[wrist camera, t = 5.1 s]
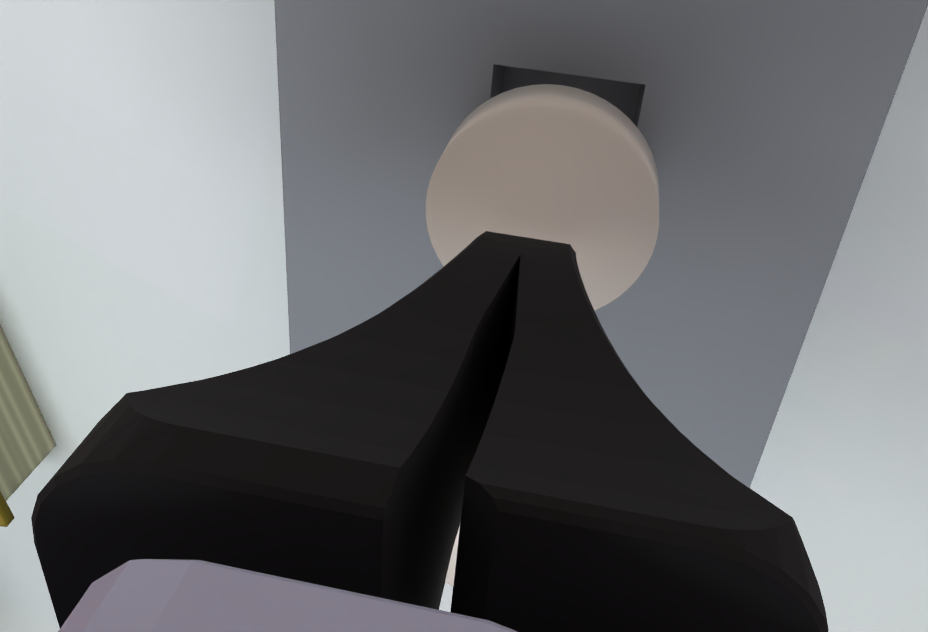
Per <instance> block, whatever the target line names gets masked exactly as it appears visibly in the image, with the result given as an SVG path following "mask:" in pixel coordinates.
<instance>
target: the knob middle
mask: <svg viewBox="0 0 928 632" xmlns="http://www.w3.org/2000/svg"><path fill="white" fill-rule="evenodd" d="M426 222H427V229H428V233H429V236H430V240H431V243H432V246H433V248H434V250H435V252H436V255H437V257H438V258H439V260H440V262H441V263H442V265H443V266H445V265H446V264H447V263H449V262H450V261H451V260H452V259H453V258H454V257H456V256H457V255H458V254H459V253H460V252H461V251H462V250H464V249H465V248H466V247H467V246H468V245H469V244H470V243H471V242H472V241H473V240H475V239H476V238H477V237H478V236H479V235H481V234H482V233H484V232H485V231H489V232H495V233H502V234H508V235H514V236H521V237H527V238H534V239H540V240H546V241H553V242H559V243H565V244H570V245H571V247H572V248H573V249H574V251H575V252H576V259H577V264H578V268H579V272H580V275H581V278H582V281H583V284H584V287H585V290H586V292H587V295H588V297H589V300H590V302H591V304H592V306H593V308H594V311H595V310H597V309H599V308H601V307H603V306H605V305H607V304H609V303H610V302H612V301H613V300H615V299H616V298H618V297H619V296H620V295H622V294H623V293H624V292H625V291H626V290H627V289H628V288H630V287H631V285H632V284H633V283H634V282H635V281H636V280H637V279H638V278H639V276H640V275H641V273H642V272H643V270H644V269H645V267H646V266H647V264H648V262H649V260H650V258H651V255H652V253H653V250H654V247H655V244H656V241H657V236H658V229H659V181H658V174H657V168H656V164H655V161H654V157H653V154H652V152H651V150H650V148H649V146H648V143H647V141H646V140H645V138H644V137H643V135H642V134H641V132H640V130H639V129H638V128H637V127H636V126H635V124H634V123H633V122H632V121H631V120H630V119H629V118H628V117H627V116H626V115H625V114H624V113H623V112H622V111H620V110H619V109H618V108H617V107H615V106H614V105H612V104H611V103H609V102H608V101H606V100H605V99H603V98H601V97H599V96H597V95H595V94H593V93H590V92H587V91H584V90H581V89H578V88H574V87H569V86H564V85H553V84H539V85H529V86H524V87H518V88H515V89H512V90H509V91H506V92H503V93H501V94H499V95H497V96H495V97H492V98H490V99H489V100H487V101H486V102H484V103H483V104H481V105H480V106H478V107H477V108H476V109H475V110H474V111H472V112H471V113H470V114H469V115H468V116H467V117H466V118H465V119H464V121H463V122H462V123H461V124H460V125H459V126H458V128H457V129H456V131H455V133H454V134H453V136H452V137H451V139H450V141H449V143H448V144H447V146H446V148H445V150H444V152H443V154H442V155H441V157H440V159H439V161H438V163H437V165H436V167H435V169H434V171H433V174H432V176H431V179H430V182H429V186H428V190H427V197H426Z"/></svg>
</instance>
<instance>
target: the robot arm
mask: <svg viewBox="0 0 928 632" xmlns="http://www.w3.org/2000/svg"><path fill="white" fill-rule="evenodd" d="M31 519H32V527H33V535H34V543H35V546H36V550H37V553H38V556H39V560H40V563H41V566H42V570H43V573H44V576H45V580H46V583H47V586H48V590H49V593H50V596H51V600H52V603H53V607H54V610H55V613H56V617H57V620H58V623H59V627H60V630H59V631H58V632H828V624H827V618H826V612H825V607H824V603H823V600H822V596H821V592H820V588H819V585H818V582H817V579H816V577H815V574H814V571H813V568H812V566H811V563H810V560H809V557H808V555H807V552H806V550H805V547H804V544H803V542H802V539H801V536H800V534H799V531H798V529H797V526H796V524H795V521H794V520H793V518H792V517H791V516H789V515H788V514H786V513H785V512H784V511H782V510H781V509H779V508H778V507H776V506H775V505H773V504H772V503H770V502H769V501H767V500H766V499H765V498H763V497H762V496H760V495H759V494H757V493H756V492H754V491H753V490H751V489H750V488H748V487H747V486H746V485H744V484H743V483H741V482H740V481H738V480H737V479H735V478H734V477H733V476H731V475H730V474H729V473H727V472H726V471H725V470H724V469H723V468H721V467H720V466H719V465H718V464H717V463H715V462H714V461H713V460H712V459H710V458H709V457H708V456H707V455H706V454H704V453H703V452H702V451H701V450H700V449H698V448H697V447H696V446H695V445H694V444H693V443H692V442H691V441H690V440H689V439H688V438H686V437H685V436H684V435H683V434H682V433H681V432H680V431H679V430H678V429H677V428H676V427H675V426H674V425H673V424H672V423H671V422H670V421H669V420H668V419H667V418H666V417H665V415H664V414H663V413H662V412H661V411H660V410H659V409H658V408H657V407H656V406H655V405H654V404H653V403H652V402H651V400H650V399H649V398H648V397H647V396H646V394H645V393H644V392H643V390H642V389H641V388H640V386H639V385H638V384H637V382H636V381H635V380H634V378H633V377H632V376H631V374H630V373H629V371H628V370H627V368H626V367H625V365H624V364H623V362H622V361H621V359H620V357H619V356H618V354H617V352H616V351H615V349H614V347H613V346H612V344H611V342H610V340H609V339H608V337H607V335H606V333H605V331H604V329H603V327H602V326H601V324H600V321H599V319H598V317H597V315H596V313H595V311H594V308H593V306H592V304H591V302H590V300H589V297H588V295H587V292H586V290H585V287H584V284H583V281H582V278H581V275H580V272H579V268H578V264H577V259H576V252H575V251H574V249H573V248H572V247H571V245H570V244H565V243H559V242H553V241H546V240H540V239H534V238H527V237H521V236H514V235H508V234H502V233H495V232H489V231H485V232H484V233H482V234H481V235H479V236H478V237H477V238H476V239H475V240H473V241H472V242H471V243H470V244H469V245H468V246H467V247H466V248H465V249H464V250H462V251H461V252H460V253H459V254H458V255H457V256H456V257H454V258H453V259H452V260H451V261H450V262H449V263H447V264H446V265H445V266H444V267H443V268H441V269H440V270H439V271H438V272H436V273H435V274H434V275H433V276H431V277H430V278H429V279H427V280H426V281H425V282H424V283H422V284H421V285H420V286H418V287H417V288H416V289H414V290H413V291H412V292H410V293H409V294H407V295H406V296H404V297H403V298H401V299H400V300H398V301H397V302H395V303H394V304H392V305H391V306H390V307H388V308H387V309H385V310H384V311H382V312H380V313H379V314H377V315H375V316H374V317H372V318H370V319H368V320H366V321H365V322H363V323H361V324H359V325H357V326H355V327H353V328H351V329H349V330H347V331H345V332H343V333H341V334H339V335H337V336H334V337H332V338H330V339H328V340H325V341H323V342H320V343H317V344H315V345H312V346H310V347H307V348H305V349H302V350H300V351H297V352H295V353H292V354H290V355H287V356H285V357H282V358H279V359H276V360H273V361H270V362H267V363H263V364H260V365H257V366H254V367H250V368H247V369H243V370H239V371H236V372H232V373H228V374H224V375H221V376H217V377H212V378H208V379H204V380H199V381H194V382H188V383H183V384H177V385H172V386H167V387H161V388H156V389H150V390H145V391H138V392H132V393H127V394H126V395H125V396H124V397H123V398H122V399H121V400H120V401H119V402H118V403H117V404H116V405H115V406H114V407H113V408H112V409H111V410H110V411H109V412H108V413H107V414H106V415H105V416H104V417H103V418H102V419H101V420H100V421H99V422H98V423H97V425H96V426H95V427H94V428H93V429H92V431H91V432H90V433H89V434H88V435H87V437H86V438H85V439H84V440H83V441H82V443H81V444H80V445H79V446H78V447H77V449H76V450H75V451H74V452H73V453H72V455H71V456H70V457H69V458H68V459H67V461H66V462H65V463H64V464H63V465H62V467H61V468H60V469H59V470H58V471H57V473H56V474H55V475H54V476H53V477H52V479H51V480H50V481H49V482H48V483H47V485H46V486H45V487H44V488H43V489H42V491H41V492H40V493H39V494H38V496H37V500H36V503H35V507H34V510H33V514H32V517H31ZM459 526H460V530H459V539H458V549H457V558H456V567H455V576H454V586H453V595H452V604H451V612H446V611H441V610H439V606H440V601H441V597H442V593H443V588H444V584H445V580H446V575H447V571H448V567H449V562H450V558H451V554H452V550H453V546H454V543H455V540H456V536H457V533H458V529H459Z"/></svg>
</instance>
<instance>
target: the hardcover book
mask: <svg viewBox="0 0 928 632" xmlns="http://www.w3.org/2000/svg"><path fill="white" fill-rule="evenodd" d="M55 446H56V444H55V442H54V439H53V437H52V435H51V433H50V431H49V429H48V427H47V424H46V422H45V420H44V418H43V416H42V414H41V411H40V409H39V407H38V405H37V403H36V401H35V399H34V396H33V394H32V392H31V390H30V388H29V386H28V384H27V381H26V379H25V377H24V375H23V373H22V371H21V368H20V366H19V364H18V362H17V360H16V358H15V356H14V353H13V351H12V349H11V347H10V345H9V343H8V341H7V338H6V336H5V334H4V332H3V330H2V328H1V325H0V526H4V527H7V526H8V525H9V524H10V523H11V521H12V520H13V519H14V516H13V514H12V512H11V510H10V508H9V506H8V505H7V503H6V501H7V499H8V498H9V497H10V496H11V495H12V494H13V493H14V492H15V490H16V489H17V488H18V487H19V486H20V485H21V484H22V483H23V481H24V480H25V479H26V478H27V477H28V476H29V475H30V474H31V473H32V471H33V470H34V469H35V468H36V467H37V466H38V465H39V464H40V462H41V461H42V460H43V459H44V458H45V457H46V456H47V455H48V454H49V452H50V451H51V450H52V449H53V448H54V447H55Z"/></svg>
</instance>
